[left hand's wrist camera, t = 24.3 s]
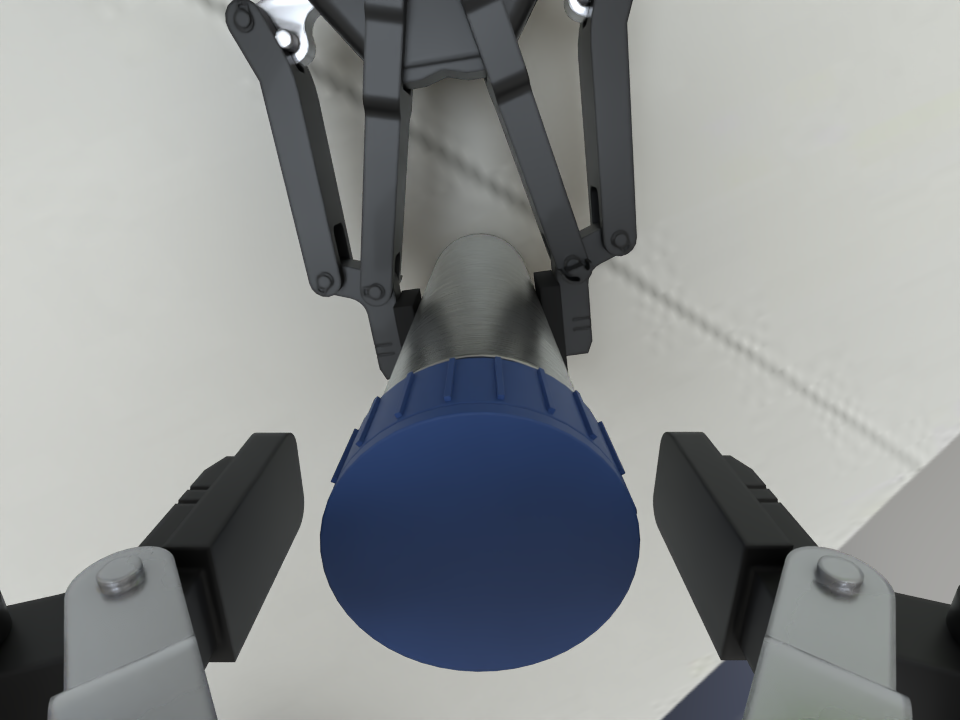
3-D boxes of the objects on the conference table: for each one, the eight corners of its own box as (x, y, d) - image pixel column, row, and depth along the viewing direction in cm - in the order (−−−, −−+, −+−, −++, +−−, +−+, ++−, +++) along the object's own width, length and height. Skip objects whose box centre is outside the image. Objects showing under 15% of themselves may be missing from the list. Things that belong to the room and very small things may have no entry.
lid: (652, 394, 10) (697, 459, 8) (560, 602, 12) (578, 699, 10) (379, 320, 10) (350, 369, 8) (326, 549, 12) (291, 640, 10)
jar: (454, 217, 27) (400, 354, 9) (543, 257, 27) (666, 460, 9) (418, 305, 28) (309, 577, 10) (503, 340, 29) (543, 653, 11)
